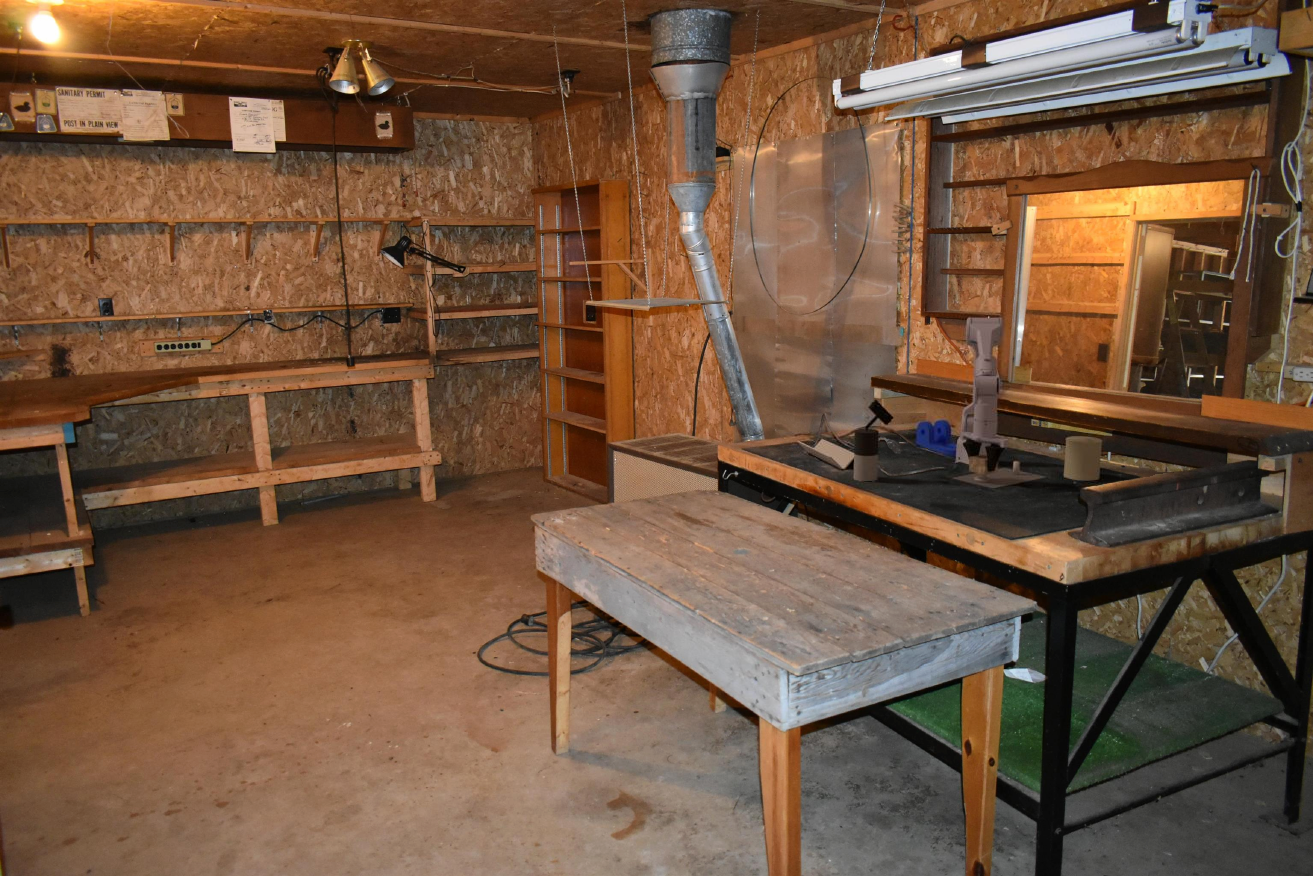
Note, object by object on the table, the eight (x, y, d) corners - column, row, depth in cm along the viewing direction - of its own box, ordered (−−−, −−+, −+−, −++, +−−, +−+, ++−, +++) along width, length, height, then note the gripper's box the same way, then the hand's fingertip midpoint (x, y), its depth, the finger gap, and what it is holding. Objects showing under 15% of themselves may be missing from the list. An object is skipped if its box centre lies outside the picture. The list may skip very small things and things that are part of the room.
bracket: (916, 447, 303) (917, 420, 302) (937, 445, 306) (938, 418, 304) (949, 457, 286) (950, 429, 285) (972, 455, 289) (973, 427, 287)
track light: (869, 492, 258) (918, 440, 258) (829, 453, 254) (879, 400, 253) (860, 487, 264) (908, 436, 264) (821, 448, 260) (870, 396, 260)
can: (1078, 485, 249) (1081, 441, 247) (1055, 477, 258) (1058, 435, 256) (1107, 482, 252) (1110, 439, 249) (1083, 475, 260) (1086, 433, 258)
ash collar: (968, 471, 252) (969, 456, 251) (981, 468, 255) (982, 454, 254) (984, 474, 248) (985, 460, 247) (997, 472, 250) (998, 457, 250)
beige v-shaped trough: (821, 465, 298) (834, 451, 298) (856, 483, 274) (870, 467, 274) (797, 441, 294) (810, 426, 294) (829, 457, 270) (843, 441, 271)
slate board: (951, 481, 256) (952, 464, 255) (1004, 471, 267) (1005, 454, 266) (992, 491, 244) (993, 474, 243) (1046, 480, 255) (1047, 463, 254)
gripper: (953, 417, 253) (951, 466, 255) (997, 425, 240) (994, 476, 243) (971, 415, 256) (968, 463, 259) (1015, 422, 244) (1012, 472, 246)
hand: (982, 469), depth 251 cm, fingers closed on ash collar, 5 cm apart
